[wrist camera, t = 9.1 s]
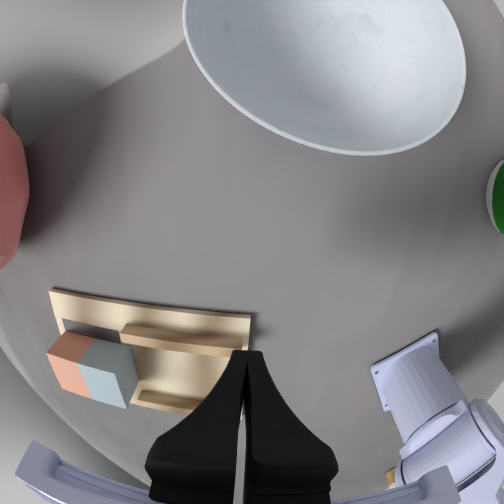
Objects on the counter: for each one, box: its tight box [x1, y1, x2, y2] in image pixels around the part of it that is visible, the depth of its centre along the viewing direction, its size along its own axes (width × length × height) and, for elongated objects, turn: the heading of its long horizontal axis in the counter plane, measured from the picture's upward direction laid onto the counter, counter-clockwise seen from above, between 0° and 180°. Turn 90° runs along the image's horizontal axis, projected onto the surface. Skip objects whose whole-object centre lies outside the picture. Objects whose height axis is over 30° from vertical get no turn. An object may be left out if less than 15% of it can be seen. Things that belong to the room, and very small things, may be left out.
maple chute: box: [49, 288, 251, 420], centre depth 24 cm, size 20×14×2 cm
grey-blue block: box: [77, 338, 139, 409], centre depth 22 cm, size 4×5×4 cm
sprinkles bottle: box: [385, 467, 397, 489], centre depth 29 cm, size 5×5×14 cm
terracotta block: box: [46, 331, 95, 399], centre depth 22 cm, size 4×5×4 cm
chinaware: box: [183, 0, 466, 156], centre depth 12 cm, size 15×15×8 cm
